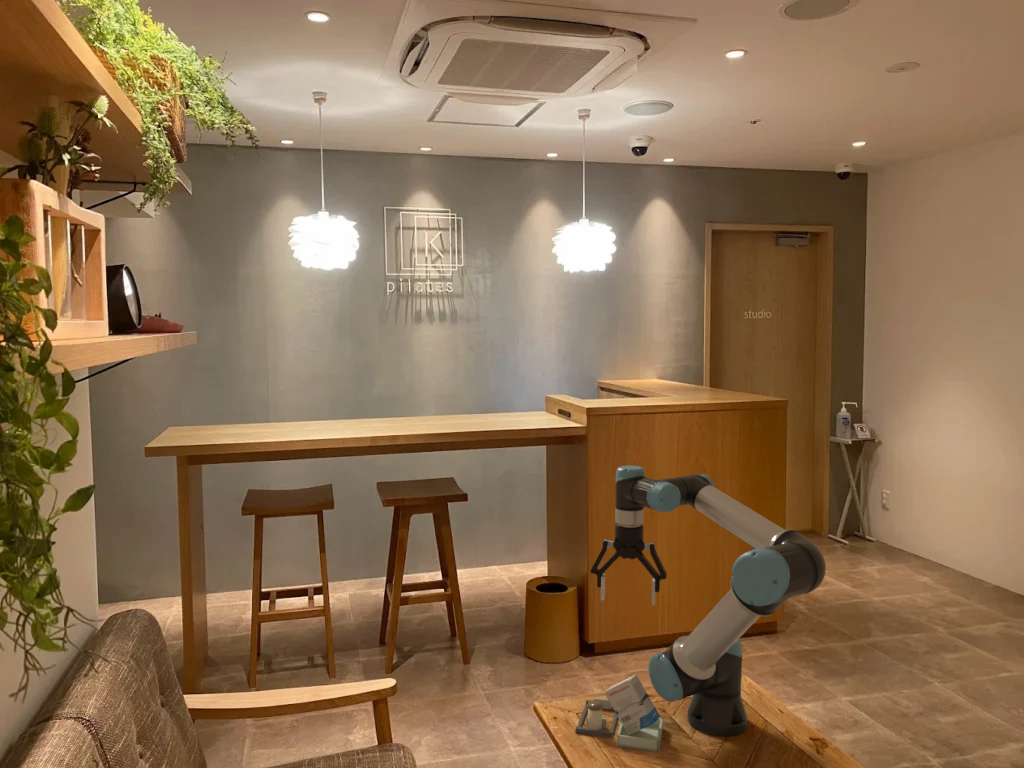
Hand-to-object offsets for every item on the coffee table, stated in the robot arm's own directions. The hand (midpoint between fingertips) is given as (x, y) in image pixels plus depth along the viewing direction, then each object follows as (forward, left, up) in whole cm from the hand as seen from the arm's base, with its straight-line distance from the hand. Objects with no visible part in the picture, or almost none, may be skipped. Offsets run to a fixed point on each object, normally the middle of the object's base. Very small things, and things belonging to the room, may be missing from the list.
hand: (628, 601), depth 222 cm
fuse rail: (+6, +11, -29) cm, 31 cm away
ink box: (-7, +17, -26) cm, 32 cm away
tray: (-6, +17, -29) cm, 34 cm away
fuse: (+6, +17, -29) cm, 34 cm away
